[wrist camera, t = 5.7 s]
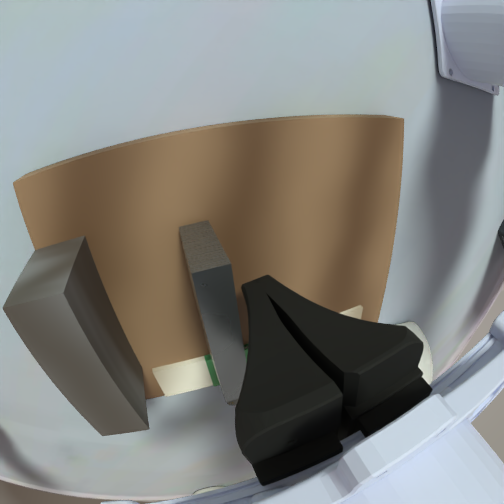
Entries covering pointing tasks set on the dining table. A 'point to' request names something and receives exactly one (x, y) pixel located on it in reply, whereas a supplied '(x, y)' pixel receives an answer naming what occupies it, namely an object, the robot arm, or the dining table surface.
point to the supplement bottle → (207, 489)
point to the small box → (501, 232)
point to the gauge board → (172, 254)
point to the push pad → (216, 305)
